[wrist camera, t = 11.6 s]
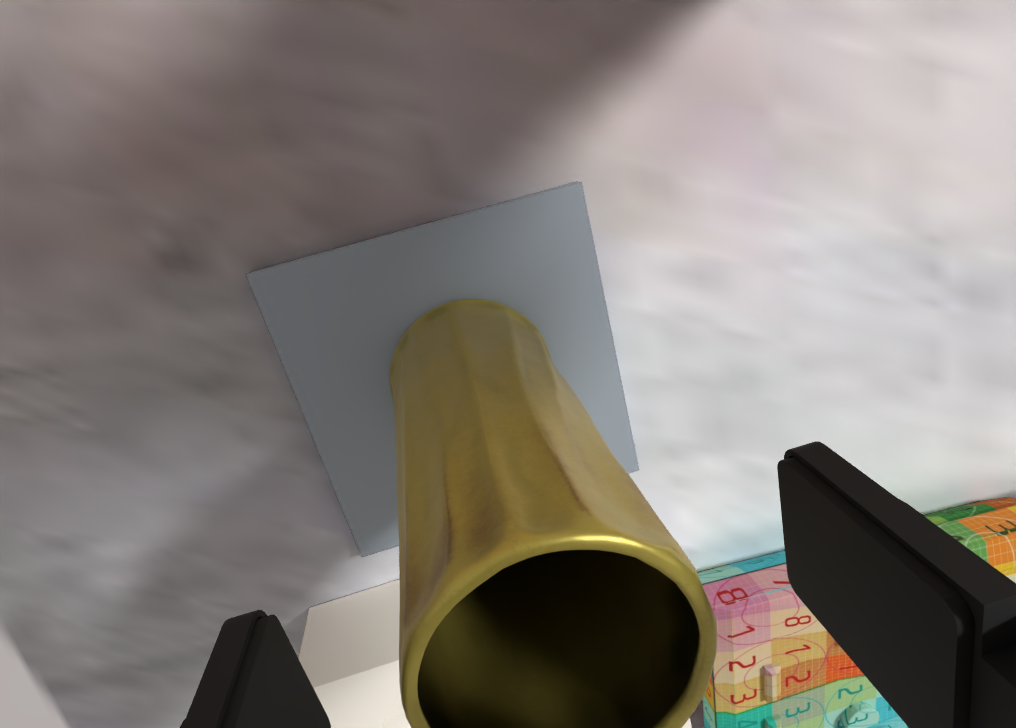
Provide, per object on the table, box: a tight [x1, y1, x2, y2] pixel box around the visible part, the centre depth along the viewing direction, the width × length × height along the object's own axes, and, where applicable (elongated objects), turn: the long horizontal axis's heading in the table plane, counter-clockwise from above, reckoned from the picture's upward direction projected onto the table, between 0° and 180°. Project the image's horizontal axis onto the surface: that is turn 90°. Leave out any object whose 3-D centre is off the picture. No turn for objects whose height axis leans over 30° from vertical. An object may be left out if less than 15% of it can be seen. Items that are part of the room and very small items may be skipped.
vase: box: [389, 299, 718, 728], centre depth 16 cm, size 6×6×14 cm
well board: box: [299, 579, 692, 728], centre depth 26 cm, size 14×14×4 cm
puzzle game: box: [698, 498, 1016, 728], centre depth 29 cm, size 12×5×20 cm
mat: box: [246, 182, 639, 557], centre depth 23 cm, size 12×12×1 cm
